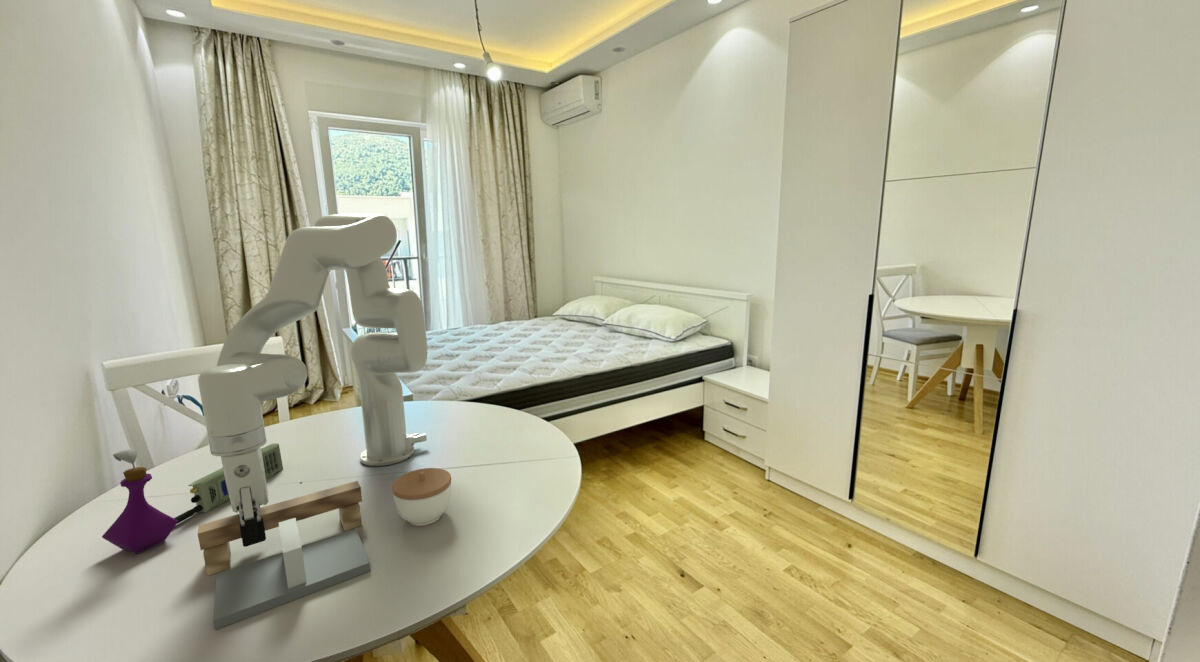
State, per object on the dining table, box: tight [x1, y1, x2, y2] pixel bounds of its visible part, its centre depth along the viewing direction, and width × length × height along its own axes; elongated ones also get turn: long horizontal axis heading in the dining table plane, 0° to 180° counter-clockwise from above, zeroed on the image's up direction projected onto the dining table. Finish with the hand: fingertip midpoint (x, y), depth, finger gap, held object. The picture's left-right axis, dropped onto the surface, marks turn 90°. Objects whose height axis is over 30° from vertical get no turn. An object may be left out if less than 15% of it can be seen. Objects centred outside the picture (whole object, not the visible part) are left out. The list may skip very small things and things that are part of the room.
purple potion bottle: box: [101, 448, 179, 555], centre depth 84 cm, size 8×8×18 cm
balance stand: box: [213, 518, 371, 631], centre depth 76 cm, size 20×12×8 cm, turn 127°
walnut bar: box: [197, 480, 363, 551], centre depth 85 cm, size 24×3×3 cm, turn 127°
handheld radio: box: [173, 442, 284, 525], centre depth 102 cm, size 7×3×25 cm
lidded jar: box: [391, 467, 452, 527], centre depth 93 cm, size 11×11×9 cm
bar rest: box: [202, 502, 363, 576], centre depth 86 cm, size 23×5×4 cm, turn 127°
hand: (254, 536), depth 83 cm, fingers closed on walnut bar, 3 cm apart
